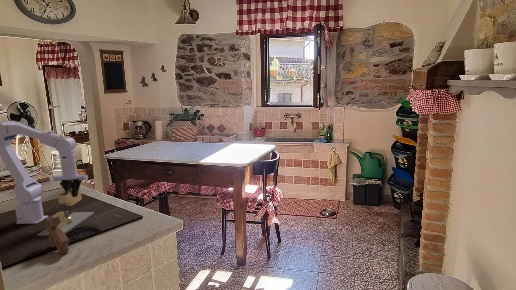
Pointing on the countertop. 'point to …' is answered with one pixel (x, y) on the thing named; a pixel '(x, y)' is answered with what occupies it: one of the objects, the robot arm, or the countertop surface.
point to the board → (76, 219)
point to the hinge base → (63, 219)
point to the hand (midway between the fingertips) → (72, 196)
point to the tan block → (69, 197)
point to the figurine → (57, 235)
